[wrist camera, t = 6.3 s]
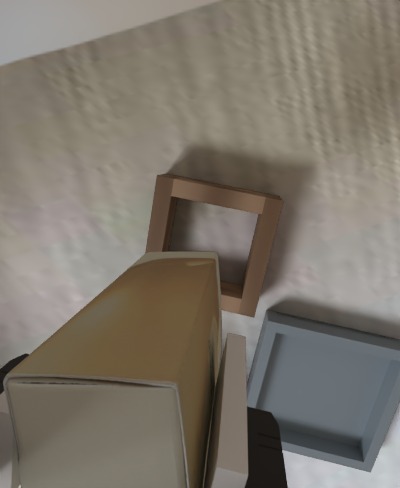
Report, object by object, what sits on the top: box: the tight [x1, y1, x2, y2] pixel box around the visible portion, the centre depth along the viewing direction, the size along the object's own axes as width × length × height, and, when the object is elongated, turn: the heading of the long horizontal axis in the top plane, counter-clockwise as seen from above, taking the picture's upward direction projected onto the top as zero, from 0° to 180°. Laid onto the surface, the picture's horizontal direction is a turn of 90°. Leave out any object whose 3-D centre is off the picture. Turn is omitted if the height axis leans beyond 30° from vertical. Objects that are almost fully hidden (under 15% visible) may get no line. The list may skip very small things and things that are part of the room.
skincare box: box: [3, 251, 222, 488], centre depth 14 cm, size 6×4×12 cm
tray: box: [246, 310, 400, 472], centre depth 35 cm, size 14×14×2 cm
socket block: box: [145, 174, 283, 317], centre depth 32 cm, size 11×11×4 cm
